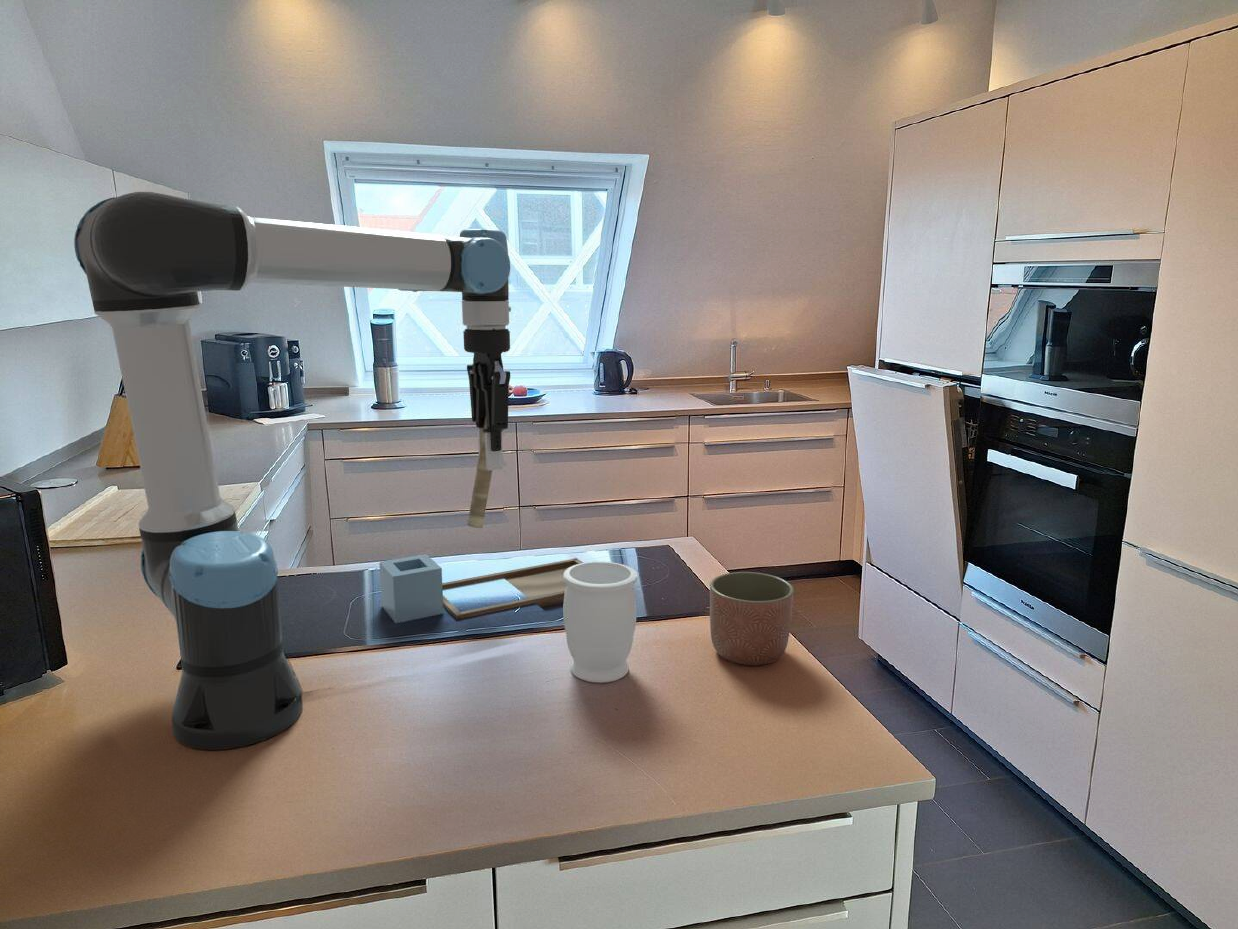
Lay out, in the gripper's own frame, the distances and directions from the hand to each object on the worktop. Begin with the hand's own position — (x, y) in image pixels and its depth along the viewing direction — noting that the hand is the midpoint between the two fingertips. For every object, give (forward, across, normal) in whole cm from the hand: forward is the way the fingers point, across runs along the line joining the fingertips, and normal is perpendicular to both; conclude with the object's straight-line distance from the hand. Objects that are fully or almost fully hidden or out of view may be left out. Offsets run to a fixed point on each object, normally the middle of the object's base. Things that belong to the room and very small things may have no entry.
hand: (490, 466), depth 139 cm
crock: (+24, 0, +15) cm, 28 cm away
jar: (+24, -33, -3) cm, 41 cm away
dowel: (+10, 0, +1) cm, 10 cm away
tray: (+24, 0, -5) cm, 25 cm away
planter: (+24, -39, -25) cm, 52 cm away
